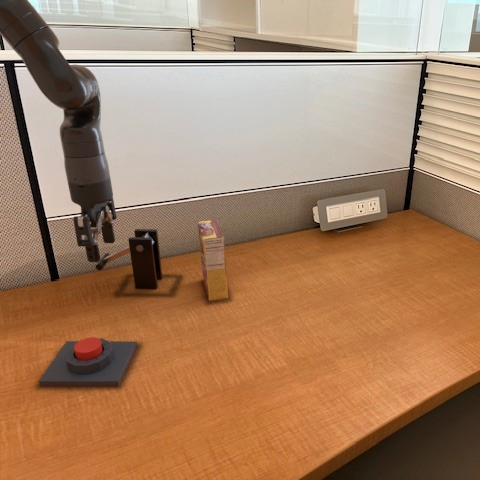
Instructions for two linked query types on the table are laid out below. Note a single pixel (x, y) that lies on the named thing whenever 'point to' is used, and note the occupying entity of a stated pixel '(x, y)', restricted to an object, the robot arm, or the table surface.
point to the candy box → (213, 259)
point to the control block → (90, 366)
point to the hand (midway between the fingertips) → (102, 251)
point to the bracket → (145, 259)
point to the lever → (116, 255)
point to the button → (88, 349)
